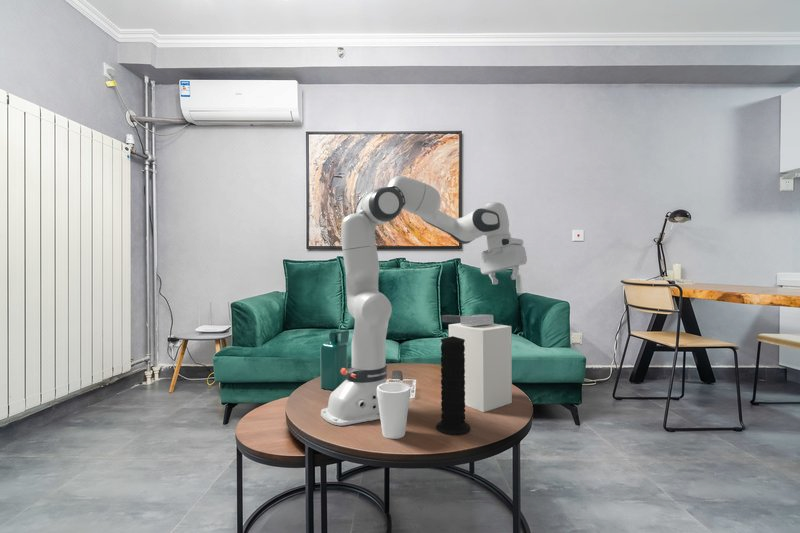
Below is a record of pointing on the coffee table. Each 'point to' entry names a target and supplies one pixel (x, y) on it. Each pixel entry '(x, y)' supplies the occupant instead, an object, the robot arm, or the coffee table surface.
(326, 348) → the green bottle
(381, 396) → the foam cup
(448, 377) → the handle grip
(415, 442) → the coffee table surface
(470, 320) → the hammer
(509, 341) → the plinth
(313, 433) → the coffee table surface
